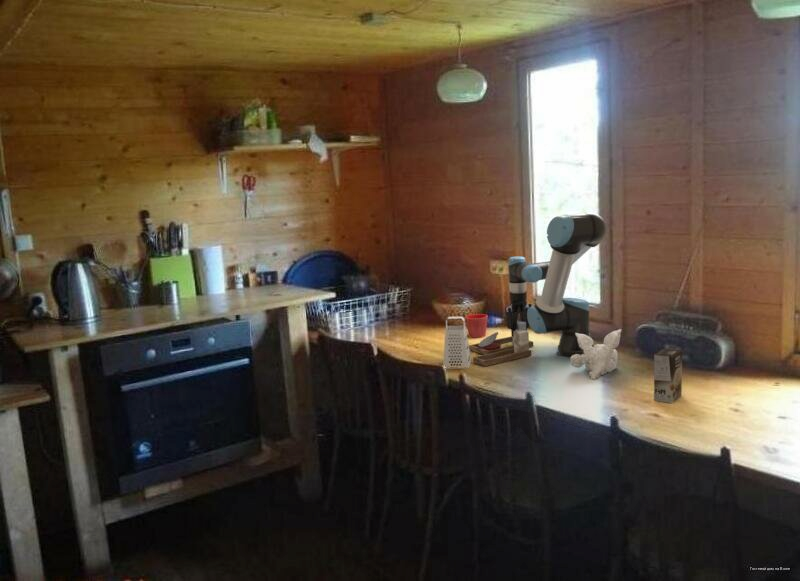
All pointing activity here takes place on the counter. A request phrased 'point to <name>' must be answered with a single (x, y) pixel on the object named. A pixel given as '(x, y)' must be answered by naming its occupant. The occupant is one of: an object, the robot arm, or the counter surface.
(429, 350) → the counter surface
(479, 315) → the flower pot
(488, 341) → the canned food
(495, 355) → the lane
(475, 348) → the lane
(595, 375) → the white sculpted figure
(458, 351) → the grater
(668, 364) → the coffee box
